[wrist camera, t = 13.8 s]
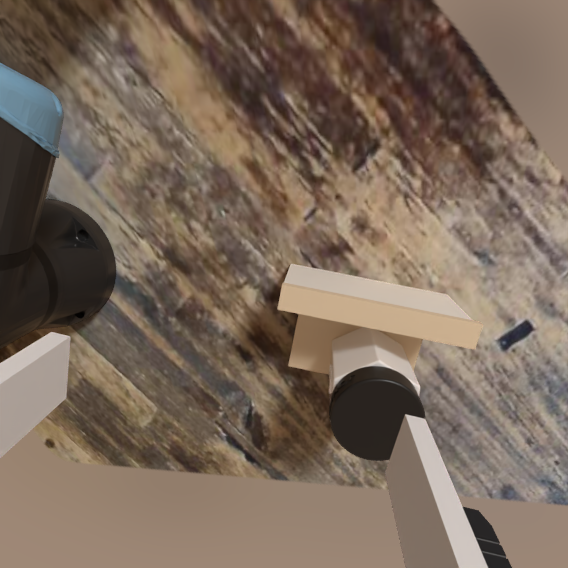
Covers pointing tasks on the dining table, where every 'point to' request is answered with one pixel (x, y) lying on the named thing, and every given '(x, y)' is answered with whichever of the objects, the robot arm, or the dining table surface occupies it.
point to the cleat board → (367, 315)
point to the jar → (370, 392)
